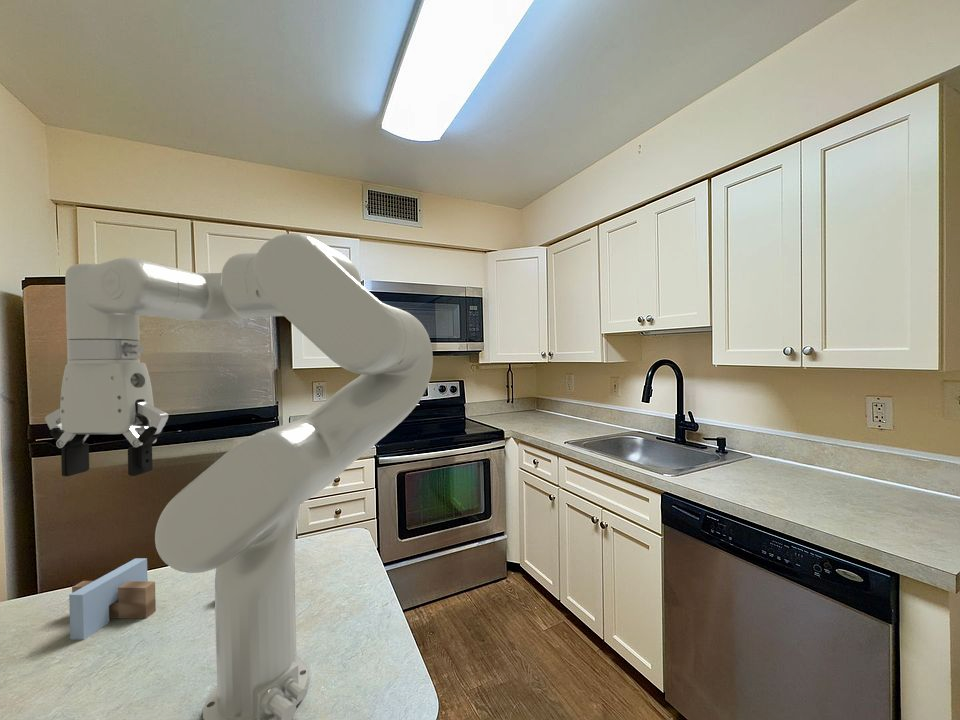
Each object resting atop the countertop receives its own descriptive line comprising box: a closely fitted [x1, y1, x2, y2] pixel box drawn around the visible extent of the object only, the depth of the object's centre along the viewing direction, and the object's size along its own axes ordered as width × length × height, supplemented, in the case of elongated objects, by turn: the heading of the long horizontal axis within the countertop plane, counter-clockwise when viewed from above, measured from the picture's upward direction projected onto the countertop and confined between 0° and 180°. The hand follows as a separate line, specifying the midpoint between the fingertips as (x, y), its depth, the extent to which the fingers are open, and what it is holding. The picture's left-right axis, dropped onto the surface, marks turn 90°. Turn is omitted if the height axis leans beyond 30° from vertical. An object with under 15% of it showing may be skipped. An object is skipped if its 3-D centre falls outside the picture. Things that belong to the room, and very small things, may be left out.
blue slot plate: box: [68, 557, 149, 641], centre depth 72 cm, size 12×2×8 cm, turn 177°
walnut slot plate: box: [71, 580, 157, 619], centre depth 73 cm, size 14×2×6 cm, turn 87°
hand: (108, 473), depth 57 cm, fingers open, 9 cm apart
